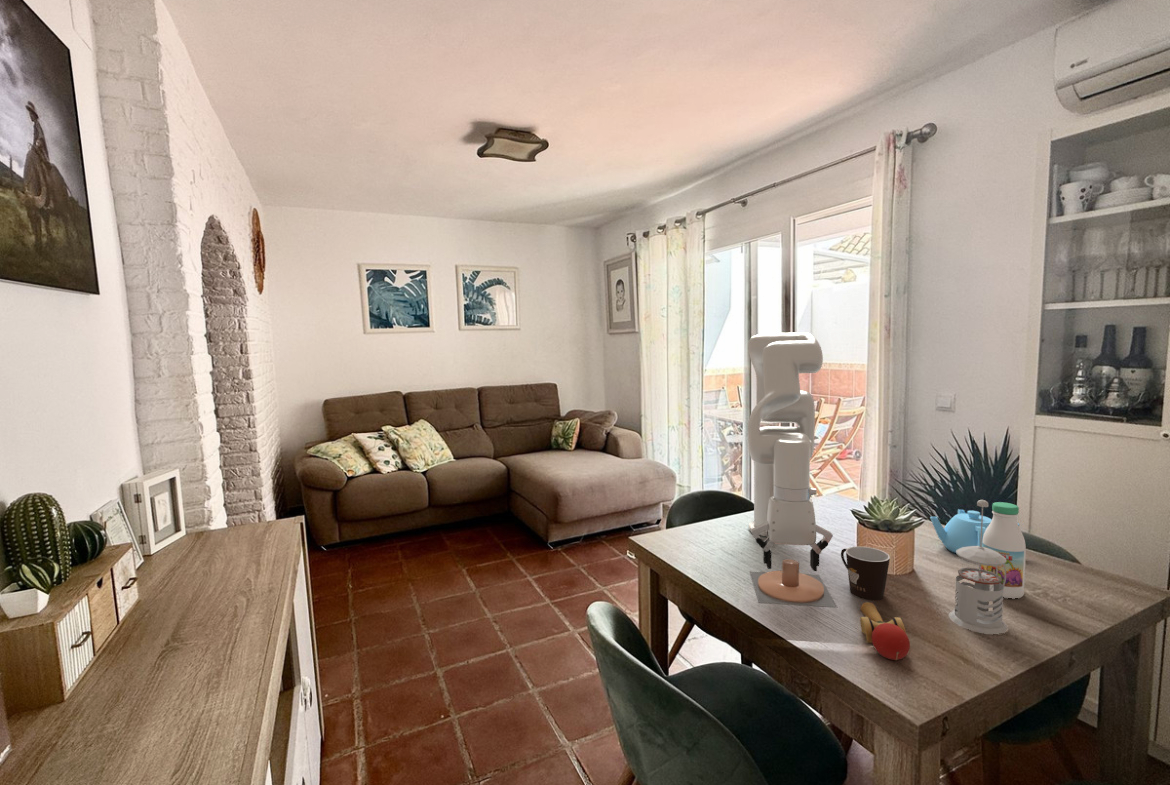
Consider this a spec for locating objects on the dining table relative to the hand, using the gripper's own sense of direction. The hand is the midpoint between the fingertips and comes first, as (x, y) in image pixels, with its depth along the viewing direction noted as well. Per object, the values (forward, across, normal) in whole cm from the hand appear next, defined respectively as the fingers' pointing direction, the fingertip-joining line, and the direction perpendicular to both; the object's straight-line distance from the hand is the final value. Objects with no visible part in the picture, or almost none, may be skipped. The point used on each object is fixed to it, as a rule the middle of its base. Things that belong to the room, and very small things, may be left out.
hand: (790, 567), depth 121 cm
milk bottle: (+6, -46, -7) cm, 47 cm away
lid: (+5, 0, -1) cm, 5 cm away
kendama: (+7, -13, +17) cm, 22 cm away
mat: (+6, 0, -1) cm, 6 cm away
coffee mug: (+6, -16, -2) cm, 17 cm away
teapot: (+6, -52, -32) cm, 61 cm away
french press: (+6, -35, +7) cm, 36 cm away
